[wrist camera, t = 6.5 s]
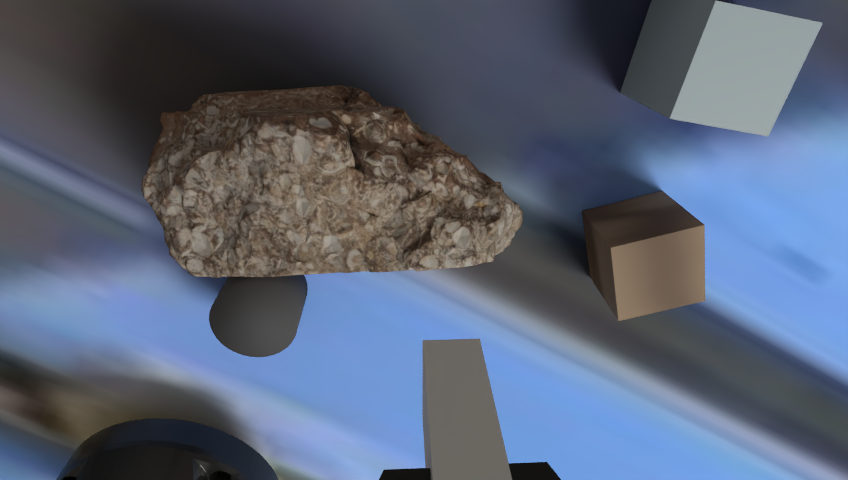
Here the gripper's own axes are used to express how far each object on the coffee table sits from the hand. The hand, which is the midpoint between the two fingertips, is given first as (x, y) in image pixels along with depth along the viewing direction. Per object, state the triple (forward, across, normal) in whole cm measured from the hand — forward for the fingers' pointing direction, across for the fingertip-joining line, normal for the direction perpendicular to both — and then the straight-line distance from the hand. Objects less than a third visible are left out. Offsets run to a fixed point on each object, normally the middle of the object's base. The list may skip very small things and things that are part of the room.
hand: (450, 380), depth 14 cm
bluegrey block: (+18, +14, +6) cm, 24 cm away
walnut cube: (+18, +13, -5) cm, 23 cm away
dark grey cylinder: (+18, -10, -8) cm, 22 cm away
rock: (+19, -4, 0) cm, 19 cm away
